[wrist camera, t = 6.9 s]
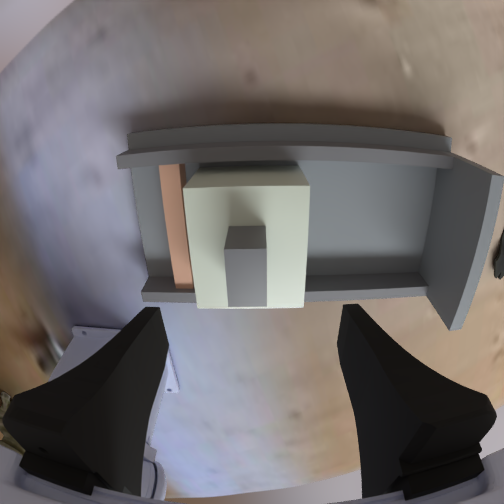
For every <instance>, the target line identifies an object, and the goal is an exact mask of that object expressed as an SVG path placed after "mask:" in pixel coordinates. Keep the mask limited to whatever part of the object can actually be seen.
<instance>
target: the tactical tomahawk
mask: <svg viewBox="0 0 504 504" xmlns="http://www.w3.org/2000/svg"><path fill="white" fill-rule="evenodd" d="M503 276H504V230H503V233H502V236H501V239H500V251H499V254H498V256H497V258H496V259H495V260H494V277H495V278H497V277H498V278H499V279H501V278H502V277H503Z"/></svg>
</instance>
